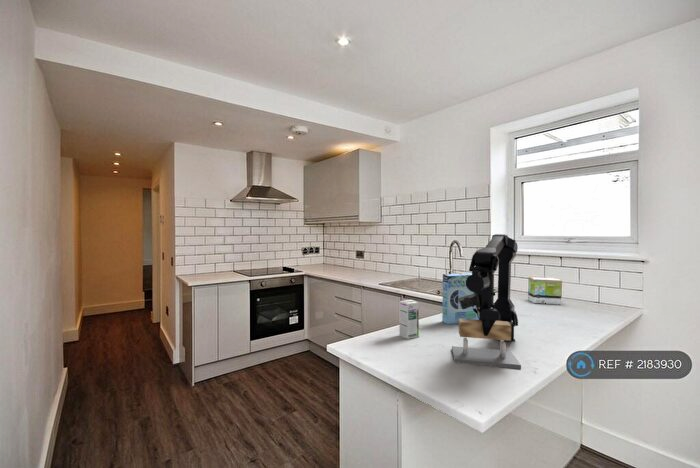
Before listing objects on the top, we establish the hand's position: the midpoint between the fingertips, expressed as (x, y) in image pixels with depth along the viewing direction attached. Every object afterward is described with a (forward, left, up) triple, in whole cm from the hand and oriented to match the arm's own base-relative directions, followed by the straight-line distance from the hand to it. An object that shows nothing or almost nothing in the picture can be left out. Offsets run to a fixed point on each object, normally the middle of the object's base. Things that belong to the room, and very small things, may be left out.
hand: (484, 333), depth 110 cm
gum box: (+2, -44, -9) cm, 45 cm away
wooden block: (0, 0, -1) cm, 1 cm away
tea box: (-52, -98, -9) cm, 111 cm away
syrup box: (+26, -17, -9) cm, 32 cm away
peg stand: (0, 0, -9) cm, 9 cm away
